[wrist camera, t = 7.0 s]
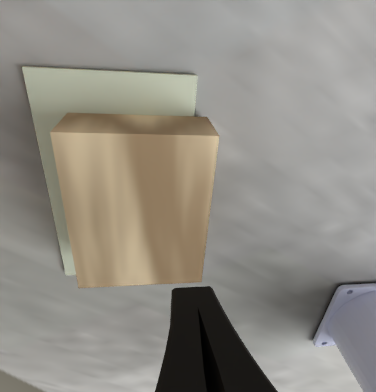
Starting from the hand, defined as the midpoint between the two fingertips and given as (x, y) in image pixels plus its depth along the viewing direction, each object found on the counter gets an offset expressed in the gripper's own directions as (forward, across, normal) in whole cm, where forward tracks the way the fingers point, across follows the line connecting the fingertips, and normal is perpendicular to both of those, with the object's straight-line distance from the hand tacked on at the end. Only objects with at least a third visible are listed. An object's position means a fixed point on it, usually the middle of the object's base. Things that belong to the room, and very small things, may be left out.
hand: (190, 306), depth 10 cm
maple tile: (+7, -2, 0) cm, 7 cm away
